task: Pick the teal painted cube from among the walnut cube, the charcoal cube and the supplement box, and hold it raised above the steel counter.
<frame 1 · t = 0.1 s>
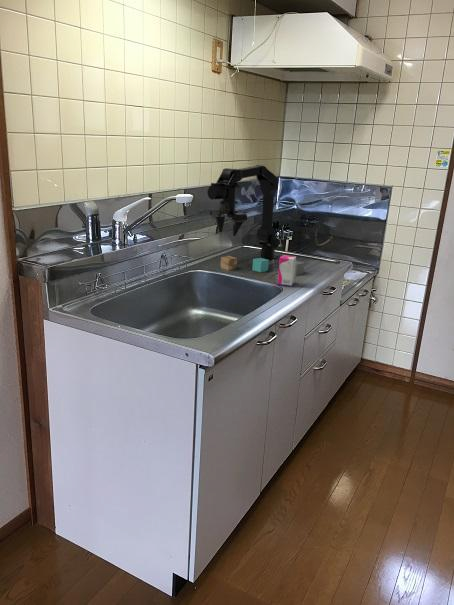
hand: (227, 234, 220), 15 cm above the counter, tool pointing down, fingers open, 9 cm apart
supplement box: (285, 284, 202), on the counter
walnut cube: (228, 268, 221), on the counter
charcoal cube: (295, 273, 219), on the counter
teal cube: (260, 270, 221), on the counter
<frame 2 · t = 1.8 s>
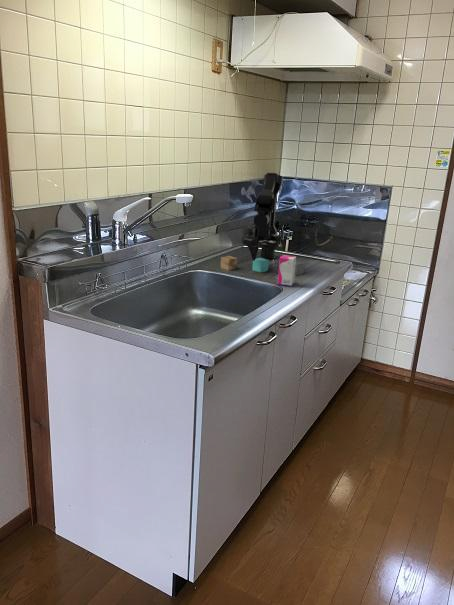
hand: (261, 259, 219), 5 cm above the counter, tool pointing down, fingers open, 9 cm apart
nothing on the counter moved.
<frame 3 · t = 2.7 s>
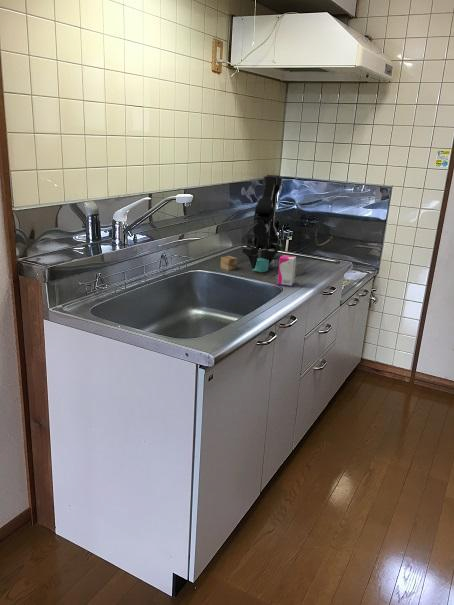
hand: (260, 267, 220), 1 cm above the counter, tool pointing down, fingers open, 9 cm apart
nothing on the counter moved.
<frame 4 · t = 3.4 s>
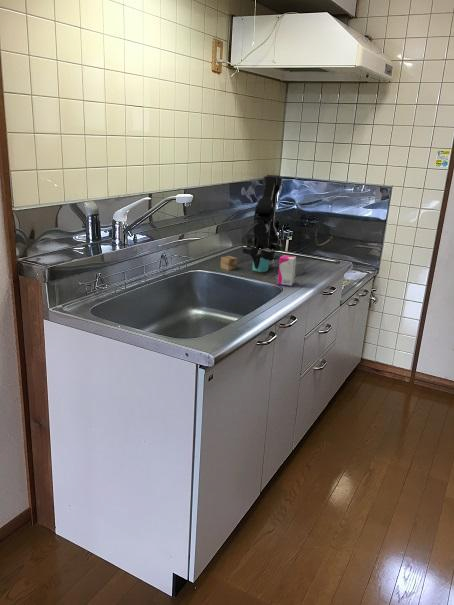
hand: (260, 267, 220), 1 cm above the counter, tool pointing down, fingers closed on teal cube, 5 cm apart
teal cube: (260, 270, 221), on the counter, touching gripper
everything else where it was.
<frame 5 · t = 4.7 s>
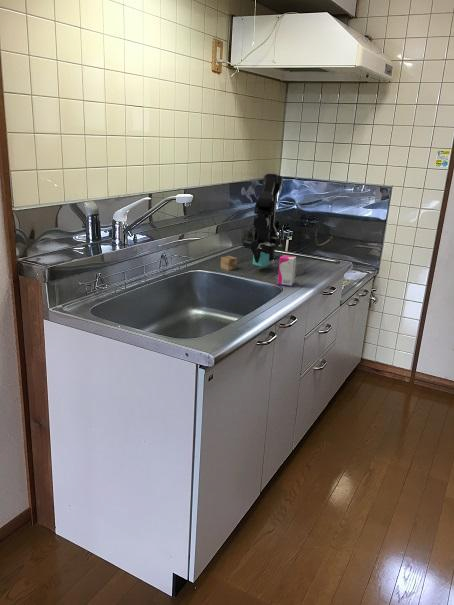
hand: (260, 261, 219), 4 cm above the counter, tool pointing down, fingers closed on teal cube, 5 cm apart
teal cube: (260, 264, 220), point 3 cm above the counter, touching gripper
everything else where it was.
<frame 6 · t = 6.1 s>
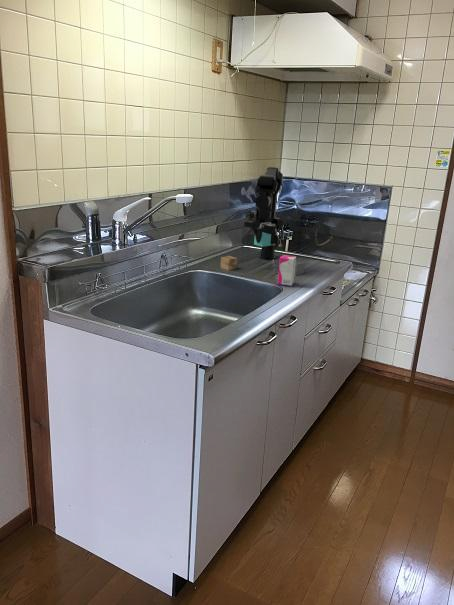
hand: (262, 242, 216), 13 cm above the counter, tool pointing down, fingers closed on teal cube, 5 cm apart
teal cube: (262, 245, 217), point 11 cm above the counter, touching gripper
everything else where it was.
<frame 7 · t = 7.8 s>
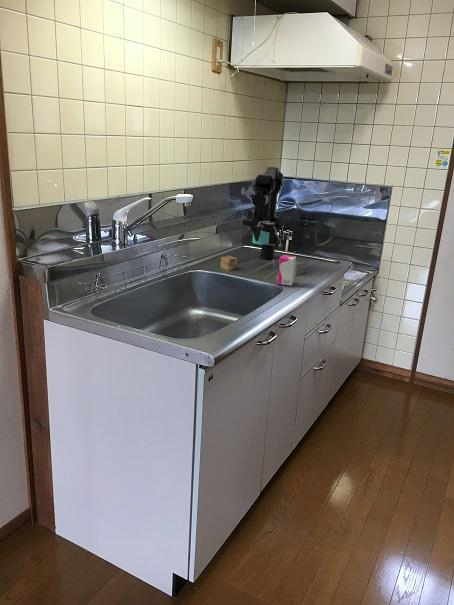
hand: (260, 240, 218), 13 cm above the counter, tool pointing down, fingers closed on teal cube, 5 cm apart
teal cube: (260, 243, 219), point 12 cm above the counter, touching gripper
everything else where it was.
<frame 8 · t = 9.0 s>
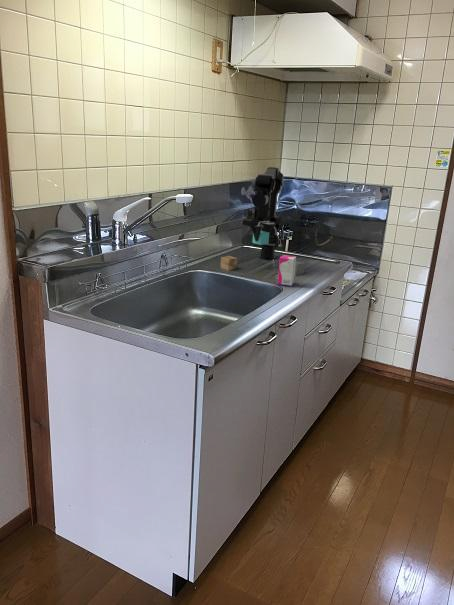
hand: (260, 240, 218), 13 cm above the counter, tool pointing down, fingers closed on teal cube, 5 cm apart
teal cube: (260, 243, 219), point 12 cm above the counter, touching gripper
everything else where it was.
at the end: the gripper is holding teal cube; teal cube point 11.7 cm above the counter; walnut cube moved 0.1 cm from its start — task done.
